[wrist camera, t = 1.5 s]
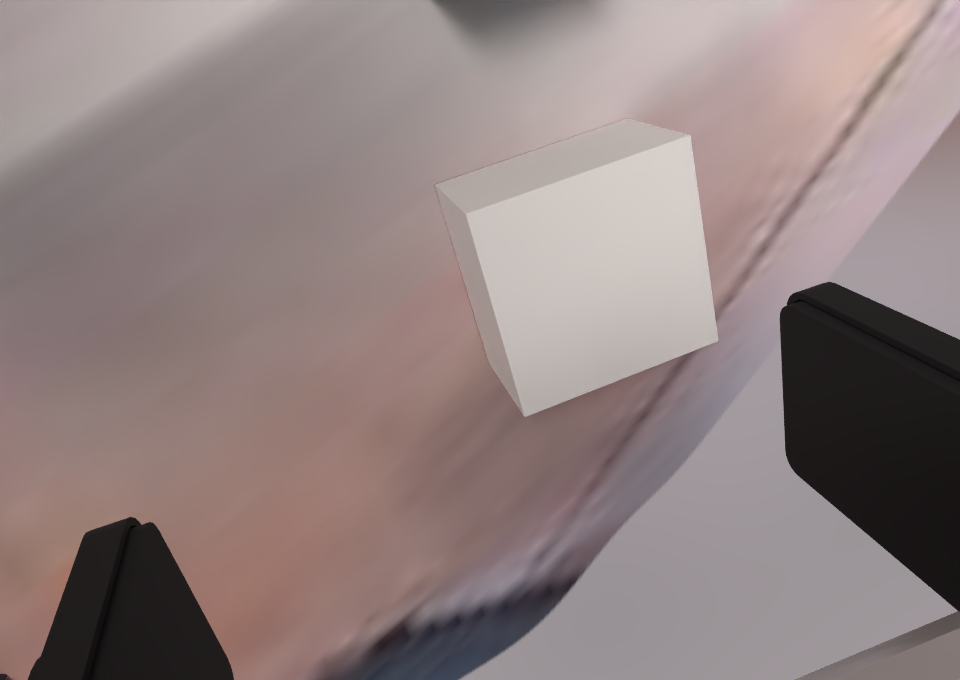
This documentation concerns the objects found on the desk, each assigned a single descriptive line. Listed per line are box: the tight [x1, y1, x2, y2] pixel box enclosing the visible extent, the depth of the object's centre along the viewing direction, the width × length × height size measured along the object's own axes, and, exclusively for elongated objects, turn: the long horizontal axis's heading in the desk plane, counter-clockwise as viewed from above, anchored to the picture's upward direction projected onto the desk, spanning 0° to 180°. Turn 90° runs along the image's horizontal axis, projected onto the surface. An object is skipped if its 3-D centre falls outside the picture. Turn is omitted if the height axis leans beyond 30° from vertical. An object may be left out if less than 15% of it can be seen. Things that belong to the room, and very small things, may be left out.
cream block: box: [435, 119, 718, 417], centre depth 35 cm, size 10×10×6 cm
